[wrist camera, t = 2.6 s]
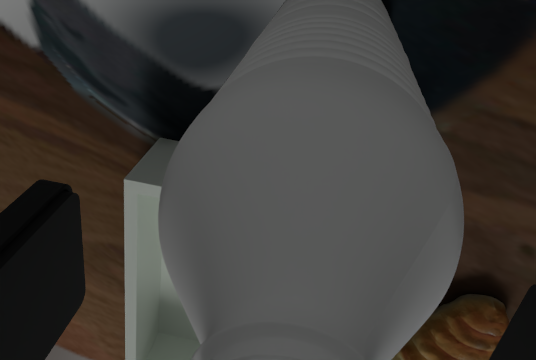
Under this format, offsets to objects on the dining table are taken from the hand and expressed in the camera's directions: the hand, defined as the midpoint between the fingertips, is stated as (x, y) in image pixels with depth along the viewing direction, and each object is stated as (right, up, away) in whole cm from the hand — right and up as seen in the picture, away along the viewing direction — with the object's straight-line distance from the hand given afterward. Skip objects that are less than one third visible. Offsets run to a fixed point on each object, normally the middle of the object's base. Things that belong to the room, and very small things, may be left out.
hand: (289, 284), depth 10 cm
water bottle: (+3, +10, +18) cm, 21 cm away
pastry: (+13, -10, +28) cm, 32 cm away
